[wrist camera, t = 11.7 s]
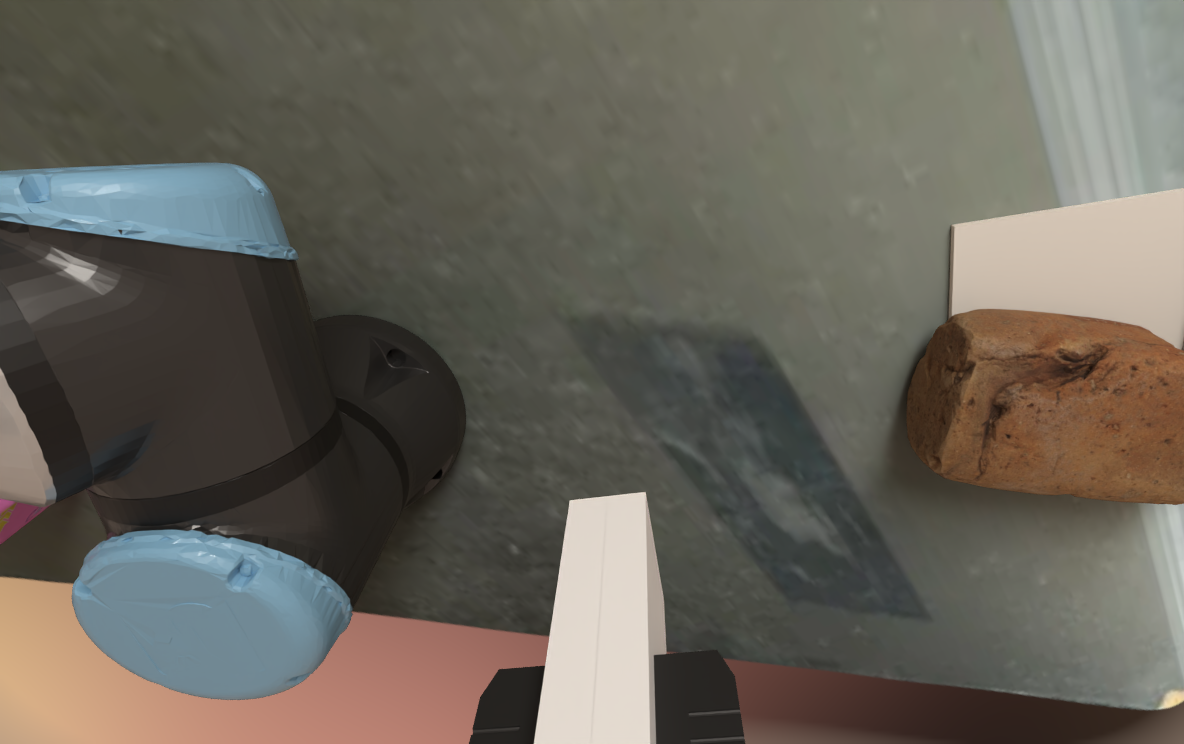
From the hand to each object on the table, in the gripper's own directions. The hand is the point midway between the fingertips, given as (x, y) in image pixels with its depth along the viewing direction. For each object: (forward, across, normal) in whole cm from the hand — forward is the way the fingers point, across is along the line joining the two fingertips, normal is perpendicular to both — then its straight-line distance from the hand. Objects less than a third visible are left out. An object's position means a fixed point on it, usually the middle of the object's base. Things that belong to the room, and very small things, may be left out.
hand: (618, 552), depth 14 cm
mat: (+34, +28, -12) cm, 46 cm away
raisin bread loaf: (+30, +17, -14) cm, 38 cm away
